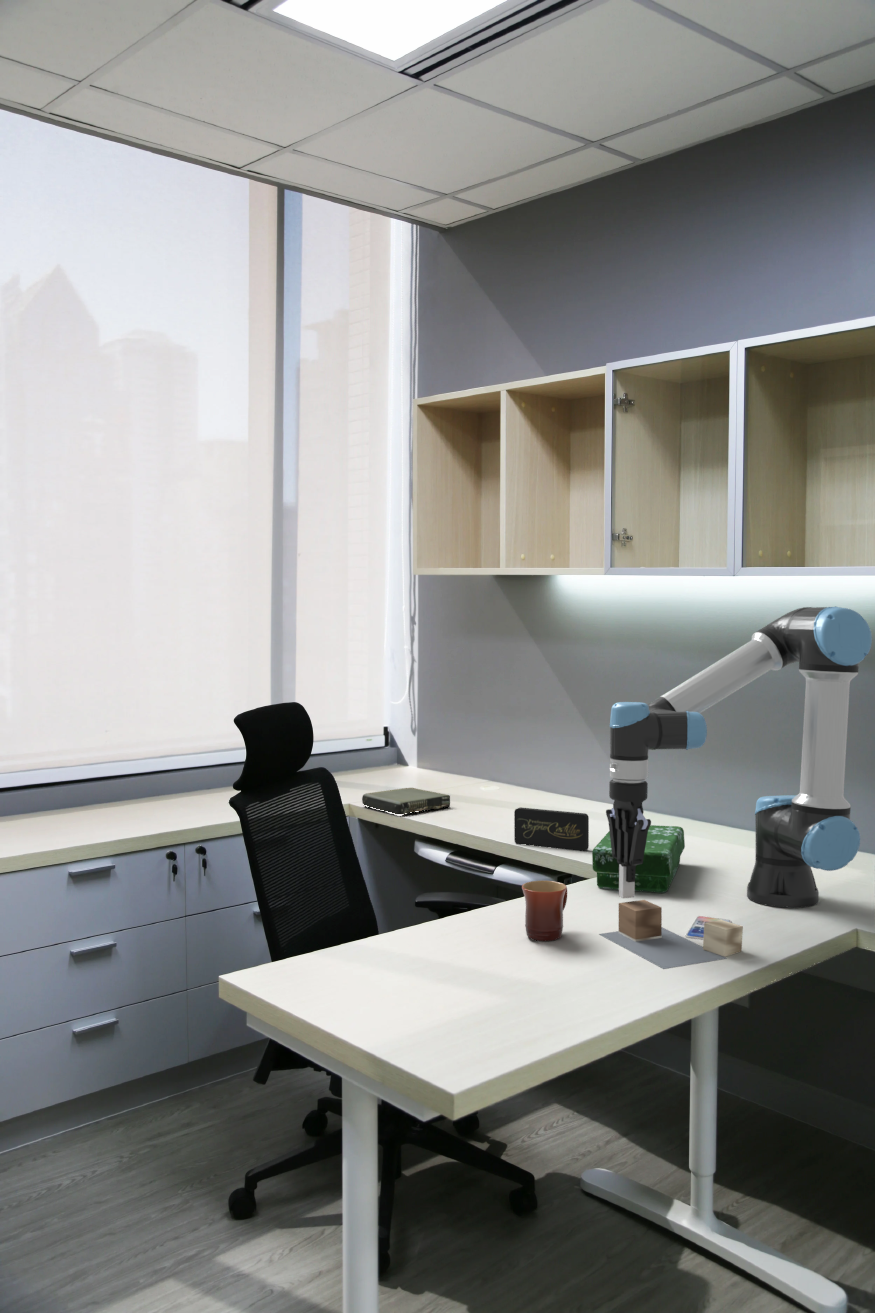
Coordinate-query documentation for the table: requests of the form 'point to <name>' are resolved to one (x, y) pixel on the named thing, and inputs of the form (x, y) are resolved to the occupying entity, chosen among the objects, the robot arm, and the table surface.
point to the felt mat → (665, 949)
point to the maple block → (722, 937)
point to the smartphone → (700, 927)
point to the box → (656, 865)
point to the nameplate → (551, 829)
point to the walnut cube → (640, 920)
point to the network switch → (406, 800)
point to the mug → (544, 909)
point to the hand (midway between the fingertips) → (626, 896)
